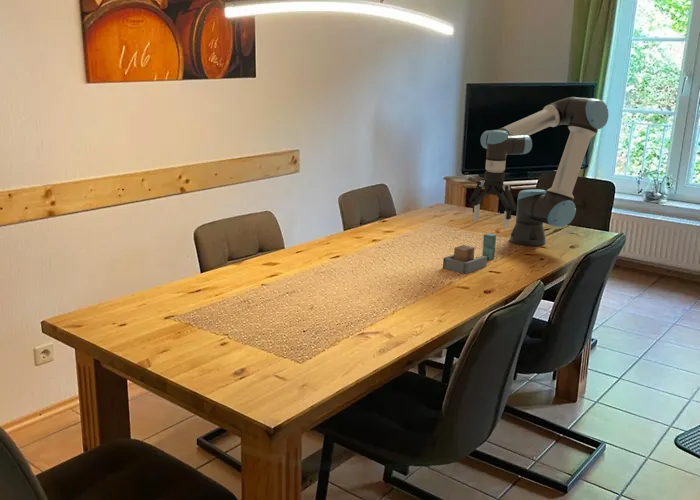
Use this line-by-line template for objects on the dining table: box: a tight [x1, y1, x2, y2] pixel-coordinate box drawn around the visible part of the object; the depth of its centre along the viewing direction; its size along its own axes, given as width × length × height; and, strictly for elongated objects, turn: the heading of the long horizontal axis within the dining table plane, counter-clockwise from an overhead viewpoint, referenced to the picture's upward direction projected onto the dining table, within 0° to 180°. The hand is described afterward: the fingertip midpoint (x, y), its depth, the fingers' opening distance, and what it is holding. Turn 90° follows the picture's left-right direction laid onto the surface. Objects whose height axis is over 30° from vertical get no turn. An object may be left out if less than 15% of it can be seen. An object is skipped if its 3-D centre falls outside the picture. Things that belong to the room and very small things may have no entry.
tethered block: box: [453, 232, 497, 262], centre depth 269 cm, size 22×5×10 cm, turn 137°
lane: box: [442, 254, 488, 275], centre depth 265 cm, size 14×10×4 cm
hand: (490, 224), depth 273 cm, fingers open, 13 cm apart
